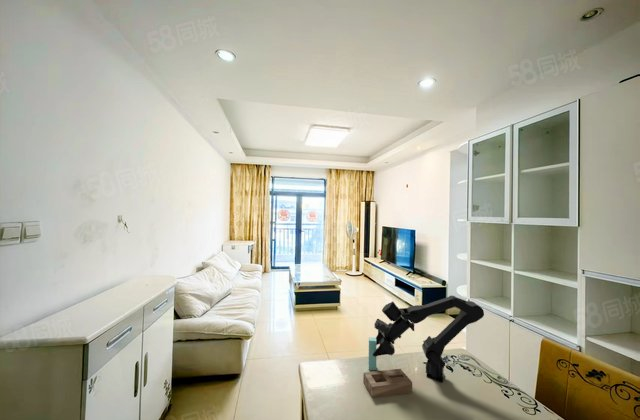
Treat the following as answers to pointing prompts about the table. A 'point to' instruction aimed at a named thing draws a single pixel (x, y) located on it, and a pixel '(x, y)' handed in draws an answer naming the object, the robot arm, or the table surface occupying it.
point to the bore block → (387, 382)
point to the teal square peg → (371, 350)
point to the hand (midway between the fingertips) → (372, 350)
